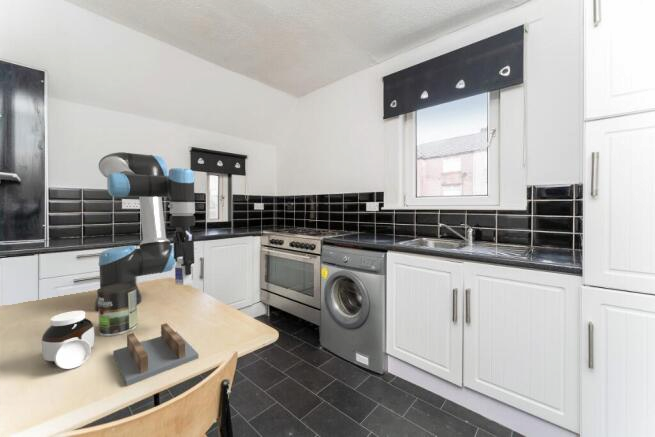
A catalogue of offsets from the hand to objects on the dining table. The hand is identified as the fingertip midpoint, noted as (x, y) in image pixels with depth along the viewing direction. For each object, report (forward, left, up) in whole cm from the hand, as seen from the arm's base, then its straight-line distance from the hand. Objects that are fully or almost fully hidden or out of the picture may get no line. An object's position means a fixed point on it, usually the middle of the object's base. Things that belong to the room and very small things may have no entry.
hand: (184, 281), depth 95 cm
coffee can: (-11, -17, -15) cm, 25 cm away
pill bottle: (0, 0, 0) cm, 0 cm away
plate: (+16, -13, -15) cm, 25 cm away
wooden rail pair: (+16, -13, -13) cm, 25 cm away
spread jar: (+2, -29, -15) cm, 33 cm away
